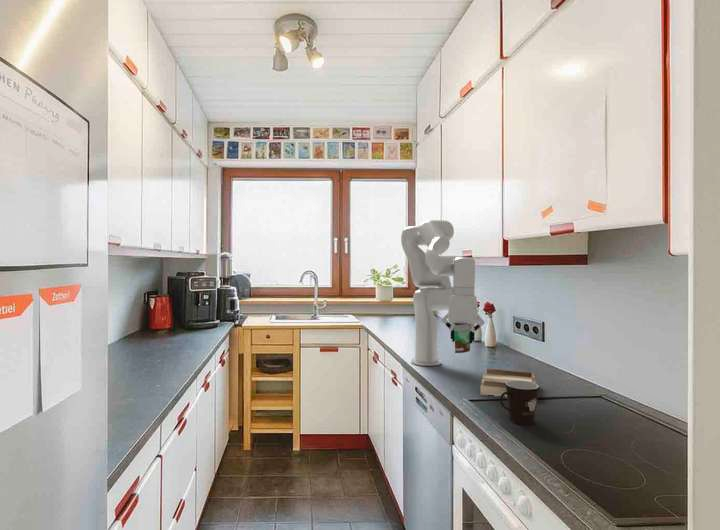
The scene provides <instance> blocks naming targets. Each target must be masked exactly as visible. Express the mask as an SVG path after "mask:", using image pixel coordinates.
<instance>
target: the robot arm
mask: <svg viewBox="0 0 720 530" xmlns="http://www.w3.org/2000/svg"><path fill="white" fill-rule="evenodd" d="M454 229H455V227H454V226H453V224H452V223H451V221H448V220H441V219H440V220H439V219H438V220H437V219H428V220H424V221H422V222H421V223H420V224H419V225H413V226H407V227H405V228H404V229H403V230H402V232H401V235H400V238H401V239H400V240H401V241H400V242H401V247H402V249H403V253H404V255H405V256H406V258H407V261H408V266H409V270H410V276H411V280H412V283H413V285H414V287H416V288H418V289H417V290H415V291H414V293H413V297H412V300H413V302H412V303H413V307H414V321H415V323H414V344H415V345H414V357H413V358H411V359H410V361H411V363H412V364H413V365H415V366H420V367H421V366H423V367H424V366H426V367H435V366H439V365H441V364H442V360H441V359H440V358H438V357H439V355H438V352H439V351H438V350H439V349H438V347H439V338H438V337H439V322H438V319H437V318H438V317H436V316H435V314H434V311H448V312H447V313H446V315H444V317H442V318H441V321H442V323H443V324H444V325H446V327H447V328H448V330H449V331H450V339H451V342H453V343H455V336H454V325H455V324H469V325H471V327H472V329H471V332H470V344H472V343H473V342H474V341H475V334H476V331H477V330H479V329H480V328H481V327H482V326H483V325H485V324H486V322H485V320H484V319H483V318H482V317H481V316H480V314H479V312H478V311H479V309H478V308H479V307H478V298H477V296H476V295H475V293H476V292H475V285H476V283H475V282H476V260H475V259H474V258H473V257H469V256H468V257H466V256H463V255H462V256H461V255H455V256H454V255H443V254H444V253H446V252H447V250H448V249H449V247H450V242H451V241H450V240H452V238H453V237H454V234H455V230H454ZM419 246H427V250H426V251H424V250H423V249H422V248H421V247H419ZM450 277H453V280H452V281H453V283H451V278H450ZM478 322H479V323H478ZM475 324H476V325H475Z"/></svg>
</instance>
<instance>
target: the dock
mask: <svg viewBox="0 0 720 530" xmlns="http://www.w3.org/2000/svg"><path fill="white" fill-rule="evenodd" d="M512 380H521V381H528V382H533V383H535V384H537V381H536V374H535V372H531V371H521V370H520V371H519V370H509V369H496V368H495V369H494V368H486V372H484V373H483V375H482V379H481V382H480V383H481V384H480V395H481V396H488V395H494V396H493V397H498V396H501V395H502V394H503V393H504V392H506V382H507V381H512ZM504 396H506V397H505V398H507V394H505V395H504Z"/></svg>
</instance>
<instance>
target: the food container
mask: <svg viewBox="0 0 720 530" xmlns="http://www.w3.org/2000/svg"><path fill="white" fill-rule="evenodd" d="M471 329H472V327H471V325H469V324H455V325H454V336H455V341H454V354H463V353H468V352H470V351H471V343H470V332H471Z"/></svg>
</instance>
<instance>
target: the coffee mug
mask: <svg viewBox="0 0 720 530" xmlns="http://www.w3.org/2000/svg"><path fill="white" fill-rule="evenodd" d="M539 389H540V386H539V384H537V383H536V384H535V383H533V382H528V381H521V380H512V381H507V382H506V392H504V393H503V394H502V395H501V397H499V404H500V405H501V407H503V409H505V410H506V411H508V418H509V419H508V420H509V422H511V423H512V424H515V425H520V426H530V425H534V423H535V418H536V412H537V403H538V395H539ZM505 394H507V397H506V400H507V406H505V404H504V403H503V398H504V397H503V396H504V395H505Z"/></svg>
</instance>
